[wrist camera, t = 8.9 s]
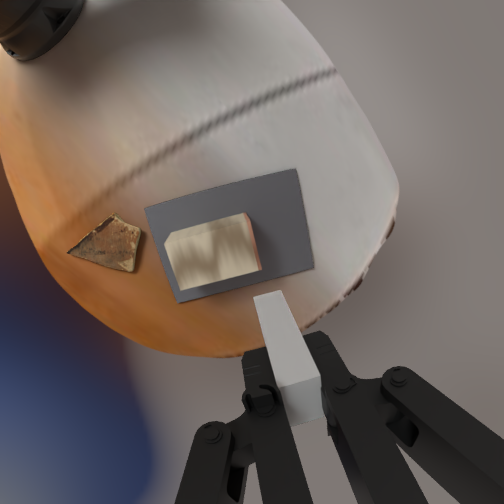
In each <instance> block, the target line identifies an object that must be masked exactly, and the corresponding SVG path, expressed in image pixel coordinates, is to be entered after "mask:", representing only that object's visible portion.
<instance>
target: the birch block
mask: <svg viewBox="0 0 504 504" xmlns="http://www.w3.org/2000/svg"><path fill="white" fill-rule="evenodd" d="M164 246H165V249H166V251H167V254H168V257H169V260H170V263H171V266H172V269H173V271H174V274H175V277H176V280H177V282H178V285H179V288H180V291H181V290H185V289H189V288H193V287H197V286H201V285H205V284H209V283H213V282H217V281H220V280H224V279H228V278H232V277H236V276H240V275H244V274H247V273H251V272H255V271H259V270H262V268H261V263H260V259H259V255H258V251H257V247H256V243H255V238H254V234H253V230H252V226H251V222H250V219H249V218H248V216H247V214H246V212H245V213H241V214H237V215H234V216H230V217H226V218H222V219H218V220H215V221H211V222H207V223H204V224H200V225H196V226H193V227H189V228H185V229H182V230H178V231H175V232H171V233H170V235H169V237H168V238H167V240H166V242H165V243H164Z"/></svg>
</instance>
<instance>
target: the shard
mask: <svg viewBox="0 0 504 504" xmlns="http://www.w3.org/2000/svg"><path fill="white" fill-rule="evenodd" d="M140 235H141V229H140V228H138V227H135V226H131V225H129V224H126V223H125V222H124V221H123V220H122V219H121V218H120V217H119V215H118V214H117V213H113V214H112V215H111V216H110V217H109V218H107V219H106V220H104V221H103V222H102V223H101V224H100V225H98V226H97V227H96V228H95V229H94V230H92V231H91V232H90V233H88V234H87V235H86V236H85V237H83V238H82V239H81V240H80V241H79V242H78V244H77V245H76V246H74V247H73V248H71V249H70V250H69V251H68V252H67V253H68V254H72V255H74V256H77V257H82V258H85V259H87V260H90V261H92V262H94V263H98V264H101V265H103V266H106V267H111V268H114V269H118V270H120V269H121V270H125V271H128V272H130V271H133V270H134V266H135V257H136V249H137V246H138V243H139V238H140Z"/></svg>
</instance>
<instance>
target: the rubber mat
mask: <svg viewBox="0 0 504 504" xmlns="http://www.w3.org/2000/svg"><path fill="white" fill-rule="evenodd" d="M144 210H145V213H146V216H147V219H148V222H149V226H150V229H151V232H152V235H153V238H154V241H155V244H156V247H157V250H158V253H159V255H160V258H161V261H162V264H163V267H164V269H165V272H166V275H167V278H168V280H169V283H170V285H171V288H172V291H173V293H174V296H175V298H176V301H177V303H180V302H184V301H188V300H192V299H196V298H200V297H205V296H209V295H213V294H217V293H221V292H224V291H228V290H232V289H236V288H240V287H244V286H248V285H252V284H255V283H259V282H263V281H267V280H270V279H274V278H278V277H281V276H285V275H289V274H292V273H296V272H299V271H303V270H307V269H310V268H314V266H313V259H312V253H311V247H310V241H309V235H308V229H307V224H306V218H305V213H304V207H303V202H302V197H301V192H300V187H299V182H298V177H297V172H296V169H291V170H286V171H282V172H277V173H273V174H268V175H264V176H260V177H255V178H251V179H247V180H243V181H239V182H235V183H231V184H227V185H223V186H219V187H215V188H212V189H208V190H204V191H201V192H197V193H194V194H190V195H187V196H183V197H180V198H176V199H173V200H170V201H166V202H163V203H160V204H157V205H153V206H150V207H147V208H145V209H144ZM245 212H246V214H247V216H248V218H249V219H250V222H251V226H252V230H253V234H254V238H255V243H256V247H257V251H258V255H259V259H260V263H261V268H262V270H259V271H255V272H251V273H247V274H244V275H240V276H236V277H232V278H228V279H224V280H220V281H217V282H213V283H209V284H205V285H201V286H197V287H193V288H189V289H185V290H181V291H180V288H179V285H178V282H177V280H176V277H175V274H174V271H173V269H172V266H171V263H170V260H169V257H168V254H167V251H166V249H165V246H164V243H165V242H166V240H167V238H168V237H169V235H170V233H171V232H175V231H178V230H182V229H185V228H189V227H193V226H196V225H200V224H204V223H207V222H211V221H215V220H218V219H222V218H226V217H230V216H234V215H237V214H241V213H245Z"/></svg>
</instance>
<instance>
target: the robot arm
mask: <svg viewBox="0 0 504 504" xmlns="http://www.w3.org/2000/svg"><path fill="white" fill-rule="evenodd" d="M83 2H84V0H0V44H1V45H2V47H3V48H4V49H5V51H6V52H7V53H8V54H9V55H10V56H11V57H13V58H16V59H18V60H23V61H25V60H31V59H34V58H36V57H38V56H40V55H42V54H44V53H45V52H47V51H48V50H49V49H51V48H52V47H53V46H54V45H55V44H57V43H58V42H59V41H60V40H61V39H62V38H63V37H64V35H65V34H66V33H67V32H68V31H69V30H70V28H71V27H72V26H73V24H74V23H75V21H76V19H77V18H78V16H79V14H80V12H81V9H82V6H83ZM253 299H254V302H255V306H256V310H257V314H258V318H259V322H260V326H261V330H262V334H263V337H264V341H265V345H266V347H262V348H258V349H254V350H250V351H246V352H245V353H244V355H243V358H242V360H241V361H242V368H243V374H244V381H245V388H246V390H245V391H244V393H243V395H242V402H243V404H244V407H245V409H246V410H245V412H244V413H243V414H242V415H241V416H240V417H238V418H237V419H235V420H233V421H231V422H229V423H227V424H225V423H223V422H218V421H213V422H208V423H206V424H204V425H202V426H201V427H200V428H199V429H198V430H197V432H196V434H195V436H194V440H193V443H192V446H191V450H190V453H189V457H188V460H187V463H186V467H185V470H184V474H183V477H182V481H181V483H180V487H179V490H178V494H177V497H176V500H175V504H243V500H244V494H245V487H246V481H247V474H248V467H249V465H250V464H252V463H254V462H256V468H257V474H258V479H259V485H260V490H261V495H262V501H263V504H313V501H312V498H311V495H310V491H309V488H308V485H307V481H306V478H305V475H304V472H303V468H302V465H301V461H300V458H299V454H298V451H297V448H296V444H295V441H294V438H293V434H292V431H291V427H292V426H296V425H299V424H303V423H306V422H309V421H313V420H316V419H319V418H322V417H324V414H325V416H326V418H327V430H328V436H330V435H331V437H332V440H333V442H334V445H335V447H336V450H337V452H338V455H339V457H340V460H341V462H342V465H343V467H344V470H345V472H346V475H347V477H348V480H349V482H350V485H351V487H352V490H353V493H354V495H355V497H356V500H357V502H358V504H428V502H427V500H426V498H425V496H424V494H423V492H422V490H421V489H420V487H419V485H418V483H417V481H416V479H415V477H414V475H413V474H412V472H411V470H410V468H409V466H408V464H407V463H406V461H405V459H404V457H403V455H402V454H401V452H400V450H399V448H398V446H397V445H396V443H397V444H398V445H399V446H400V447H401V448H402V449H403V450H404V451H405V452H406V453H407V454H408V455H409V456H410V457H411V458H412V459H413V460H414V461H415V462H416V463H417V464H418V465H419V466H421V468H422V469H423V470H424V471H426V472H427V473H428V474H429V475H430V476H431V477H432V478H433V479H434V480H435V481H436V482H437V483H438V484H439V485H440V486H442V487H443V488H444V489H445V490H446V491H447V492H448V493H449V494H450V495H451V496H452V497H454V498H455V499H456V500H457V501H458V502H459V503H460V504H504V439H502V438H501V437H500V436H498V435H497V434H496V433H494V432H493V431H492V430H490V429H489V428H487V427H486V426H485V425H484V424H482V423H481V422H480V421H478V420H477V419H476V418H474V417H473V416H472V415H470V414H469V413H468V412H466V411H465V410H464V409H462V408H461V407H460V406H458V405H457V404H456V403H454V402H453V401H452V400H451V399H449V398H448V397H447V396H445V395H444V394H442V393H441V392H440V391H439V390H437V389H436V388H435V387H433V386H432V385H431V384H429V383H428V382H427V381H425V380H424V379H423V378H421V377H420V376H419V375H417V374H416V373H415V372H413V371H412V370H411V369H409V368H407V367H401V366H397V367H392V368H391V369H388V370H387V371H386V372H385V373H384V374H383V377H382V378H375V379H360V378H357V377H356V376H354V375H352V374H351V373H350V372H349V371H348V369H347V367H346V366H345V364H344V362H343V360H342V359H341V357H340V355H339V354H338V352H337V350H336V349H335V347H334V345H333V344H332V342H331V340H330V338H329V337H328V335H326V334H324V333H323V332H321V331H317V332H313V333H310V334H307V335H304V336H302V335H301V332H300V330H299V328H298V326H297V324H296V322H295V320H294V317H293V315H292V313H291V311H290V309H289V307H288V305H287V302H286V300H285V298H284V296H283V294H282V292H281V290H278V291H274V292H270V293H267V294H263V295H259V296H255V297H253Z"/></svg>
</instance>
